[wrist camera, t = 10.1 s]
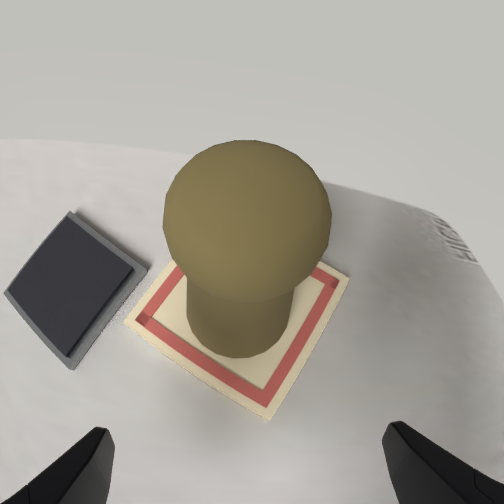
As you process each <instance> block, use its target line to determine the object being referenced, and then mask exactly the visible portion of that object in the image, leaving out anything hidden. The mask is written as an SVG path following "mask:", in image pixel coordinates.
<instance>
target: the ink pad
mask: <svg viewBox="0 0 504 504" xmlns="http://www.w3.org/2000/svg"><path fill="white" fill-rule="evenodd" d="M146 273H147V270H146V268H145V267H143V266H142V265H141V264H139V263H138V262H136V261H135V260H134V259H132V258H131V257H129V256H128V255H127V254H125V253H124V252H123V251H121V250H120V249H119V248H117V247H116V246H115V245H113V244H112V243H111V242H109V241H108V240H107V239H105V238H104V237H103V236H101V235H100V234H99V233H97V232H96V231H95V230H94V229H92V228H91V227H90V226H88V225H87V224H86V223H85V222H83V221H82V220H81V219H79V218H78V217H77V216H76V215H74V214H73V213H72V212H71V211H69V212H68V214H67V215H66V216H65V217H64V218H63V219H62V220H61V221H60V222H59V224H58V225H57V226H56V227H55V228H54V229H53V230H52V232H51V233H50V234H49V235H48V236H47V237H46V239H45V240H44V241H43V242H42V243H41V245H40V246H39V247H38V248H37V250H36V251H35V252H34V253H33V255H32V256H31V257H30V258H29V260H28V261H27V262H26V263H25V265H24V266H23V267H22V269H21V270H20V271H19V273H18V274H17V275H16V277H15V278H14V279H13V281H12V282H11V283H10V285H9V286H8V288H7V289H6V290H5V292H4V295H5V296H6V297H7V299H8V300H9V301H10V303H11V304H12V305H13V306H14V308H15V309H16V310H17V311H18V313H19V314H20V315H21V316H22V318H23V319H24V320H25V321H26V323H27V324H28V325H29V326H30V327H31V328H32V330H33V331H34V332H35V333H36V334H37V335H38V337H39V338H40V339H41V340H42V341H43V342H44V343H45V344H46V346H47V347H48V348H49V349H50V350H51V351H52V352H53V353H54V354H55V355H56V356H57V357H58V358H59V359H60V360H61V361H62V362H63V363H64V364H65V365H66V366H67V367H68V368H69V369H70V370H74V369H75V368H76V366H77V365H78V363H79V362H80V361H81V359H82V358H83V356H84V355H85V353H86V352H87V351H88V349H89V348H90V347H91V345H92V344H93V342H94V341H95V340H96V338H97V337H98V336H99V334H100V333H101V331H102V330H103V329H104V327H105V326H106V325H107V323H108V322H109V321H110V319H111V318H112V317H113V315H114V314H115V313H116V311H117V310H118V309H119V307H120V306H121V305H122V304H123V302H124V301H125V300H126V298H127V297H128V296H129V295H130V293H131V292H132V291H133V289H134V288H135V287H136V286H137V284H138V283H139V282H140V281H141V279H142V278H143V277H144V276H145V274H146Z"/></svg>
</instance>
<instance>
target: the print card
mask: <svg viewBox="0 0 504 504" xmlns="http://www.w3.org/2000/svg"><path fill="white" fill-rule="evenodd" d="M349 280H350V278H348V277H347V276H345V275H343V274H341V273H340V272H338V271H336V270H335V269H333V268H331V267H330V266H328V265H326V264H324V263H323V262H321V261H319V262H318V264H317V266H316V267H315V269H314V271H313V272H312V274H311V275H310V276H309V277H307V278H306V279H305V280H304V281H303V282H301V283H300V284H299V285H298V286H296V287H295V289H294V294H293V300H292V305H291V310H290V315H289V320H288V324H287V328H286V330H285V331H284V333H283V335H282V336H281V338H280V339H279V341H278V342H277V343H276V344H274V345H273V346H272V347H271V348H270V349H268V350H267V351H266V352H264V353H261V354H258V355H256V356H253V357H251V358H235V359H232V358H228V357H225V356H221V355H218V354H215V353H214V352H212V351H211V350H209V349H208V348H206V347H205V346H203V345H202V344H201V343H200V342H199V340H198V339H197V338H196V337H195V335H194V334H193V333H192V331H191V328H190V325H189V322H188V319H187V317H186V300H187V277H186V276H185V275H184V273H183V272H182V271H181V269H180V268H179V267H178V265H177V264H176V263H175V261H174V260H173V259H172V260H171V261H170V262H169V264H168V265H167V266H166V267H165V269H164V270H163V271H162V272H161V274H160V275H159V276H158V277H157V279H156V280H155V281H154V283H153V284H152V285H151V286H150V288H149V289H148V290H147V291H146V293H145V294H144V295H143V297H142V298H141V299H140V300H139V302H138V303H137V304H136V306H135V307H134V308H133V310H132V311H131V312H130V314H129V315H128V316H127V318H126V319H125V320H124V322H123V323H124V324H126V325H127V326H128V327H129V328H131V329H132V330H133V331H134V332H136V333H137V334H138V335H139V336H141V337H142V338H143V339H145V340H146V341H147V342H149V343H150V344H151V345H153V346H154V347H155V348H157V349H158V350H159V351H161V352H162V353H163V354H165V355H166V356H167V357H169V358H170V359H172V360H173V361H174V362H176V363H177V364H179V365H180V366H182V367H183V368H184V369H186V370H187V371H189V372H190V373H192V374H193V375H195V376H196V377H198V378H199V379H201V380H202V381H204V382H205V383H207V384H208V385H210V386H211V387H213V388H214V389H216V390H218V391H219V392H221V393H222V394H224V395H225V396H227V397H229V398H230V399H232V400H234V401H235V402H237V403H239V404H240V405H242V406H244V407H245V408H247V409H249V410H250V411H252V412H254V413H255V414H257V415H259V416H261V417H262V418H264V419H266V420H268V421H270V420H271V418H272V417H273V415H274V414H275V412H276V410H277V409H278V407H279V406H280V404H281V403H282V401H283V399H284V398H285V396H286V395H287V393H288V391H289V390H290V388H291V386H292V385H293V383H294V381H295V380H296V378H297V376H298V375H299V373H300V371H301V370H302V368H303V366H304V364H305V363H306V361H307V359H308V357H309V356H310V354H311V352H312V350H313V349H314V347H315V345H316V343H317V341H318V340H319V338H320V336H321V334H322V332H323V330H324V329H325V327H326V325H327V323H328V321H329V319H330V317H331V315H332V313H333V312H334V310H335V308H336V306H337V304H338V302H339V300H340V298H341V296H342V294H343V292H344V290H345V288H346V286H347V284H348V282H349Z"/></svg>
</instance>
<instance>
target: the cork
mask: <svg viewBox="0 0 504 504" xmlns="http://www.w3.org/2000/svg"><path fill="white" fill-rule="evenodd" d="M331 216H332V213H331V208H330V204H329V200H328V196H327V192H326V190H325V188H324V187H323V185H322V183H321V181H320V180H319V178H318V177H317V175H316V174H315V172H314V171H313V169H312V168H311V167H310V166H309V165H308V164H307V163H306V162H304V161H303V160H302V159H301V158H300V157H299V156H297V155H296V154H294V153H292V152H290V151H288V150H286V149H284V148H282V147H280V146H278V145H274V144H270V143H266V142H261V141H256V140H253V141H252V140H238V141H237V140H234V141H231V142H226V143H222V144H217V145H214V146H212V147H210V148H208V149H206V150H204V151H202V152H200V153H198V154H196V155H195V156H194V157H193V158H192V159H191V160H190V161H189V162H188V163H187V164H186V165H185V166H184V167H183V168H182V169H181V170H180V171H179V172H178V174H177V175H176V176H175V178H174V180H173V182H172V184H171V186H170V188H169V190H168V192H167V194H166V199H165V207H164V217H163V231H164V234H165V237H166V241H167V244H168V248H169V251H170V253H171V256H172V259H173V260H174V261H175V263H176V264H177V265H178V267H179V268H180V269H181V271H182V272H183V273H184V275H185V276H186V277H187V300H186V317H187V319H188V322H189V325H190V328H191V331H192V333H193V334H194V335H195V337H196V338H197V339H198V340H199V342H200V343H201V344H202V345H203V346H205V347H206V348H208V349H209V350H211V351H212V352H214V353H215V354H218V355H221V356H225V357H228V358H232V359H235V358H251V357H253V356H256V355H258V354H261V353H264V352H266V351H267V350H268V349H270V348H271V347H272V346H273V345H274V344H276V343H277V342H278V341H279V339H280V338H281V336H282V335H283V333H284V331H285V330H286V328H287V324H288V320H289V315H290V310H291V305H292V300H293V294H294V289H295V287H296V286H298V285H299V284H300V283H301V282H303V281H304V280H305V279H306V278H307V277H309V276H310V275H311V274H312V272H313V271H314V269H315V267H316V266H317V264H318V262H319V261H320V259H321V257H322V255H323V254H324V252H325V250H326V248H327V246H328V241H329V234H330V227H331Z"/></svg>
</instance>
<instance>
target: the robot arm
mask: <svg viewBox="0 0 504 504" xmlns="http://www.w3.org/2000/svg"><path fill="white" fill-rule="evenodd" d="M382 445H383V449H384V453H385V457H386V462H387V466H388V470H389V474H390V478H391V481H392V484H393V487H394V490H395V493H396V495H397V498H398V501H399V504H504V484H502V483H500V482H498V481H496V480H494V479H491V478H490V477H488V476H486V475H484V474H483V473H481V472H479V471H478V470H476V469H473V467H471V466H470V465H468V464H466V463H465V462H463V461H462V460H460V459H458V458H457V457H455V456H454V455H452V454H451V453H449V452H448V451H446V450H444V449H443V448H441V447H440V446H438V445H437V444H435V443H434V442H432V441H431V440H429V439H428V438H426V437H425V436H423V435H422V434H420V433H419V432H417V431H416V430H414V429H413V428H411V427H410V426H408V425H407V424H406V423H404V422H402V421H395V422H391V423H390V424H389V425H388V427H387V429H386V431H385V433H384V435H383V438H382ZM114 452H115V445H114V442H113V439H112V437H111V435H110V432H109V430H108V429H107V428H102V427H95V428H93V429H92V430H91V431H90V432H89V433H87V434H86V435H85V436H84V437H83V438H82V439H81V440H79V441H78V442H77V443H76V444H75V445H73V446H72V447H71V448H70V449H69V450H68V451H66V452H65V453H64V454H63V455H62V456H60V457H59V458H58V459H57V460H56V461H55V462H53V463H52V464H51V465H50V466H49V467H47V468H46V469H45V470H44V471H43V472H41V473H40V474H39V475H38V476H37V477H35V478H34V479H33V480H32V481H30V482H29V483H28V485H25V486H24V487H23V488H22V489H21V490H19V491H18V492H17V493H15V494H14V495H13V496H11V497H10V498H8V499H7V500H5V501H4V502H2V503H1V504H106V501H107V497H108V493H109V488H110V482H111V474H112V466H113V459H114Z"/></svg>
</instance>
